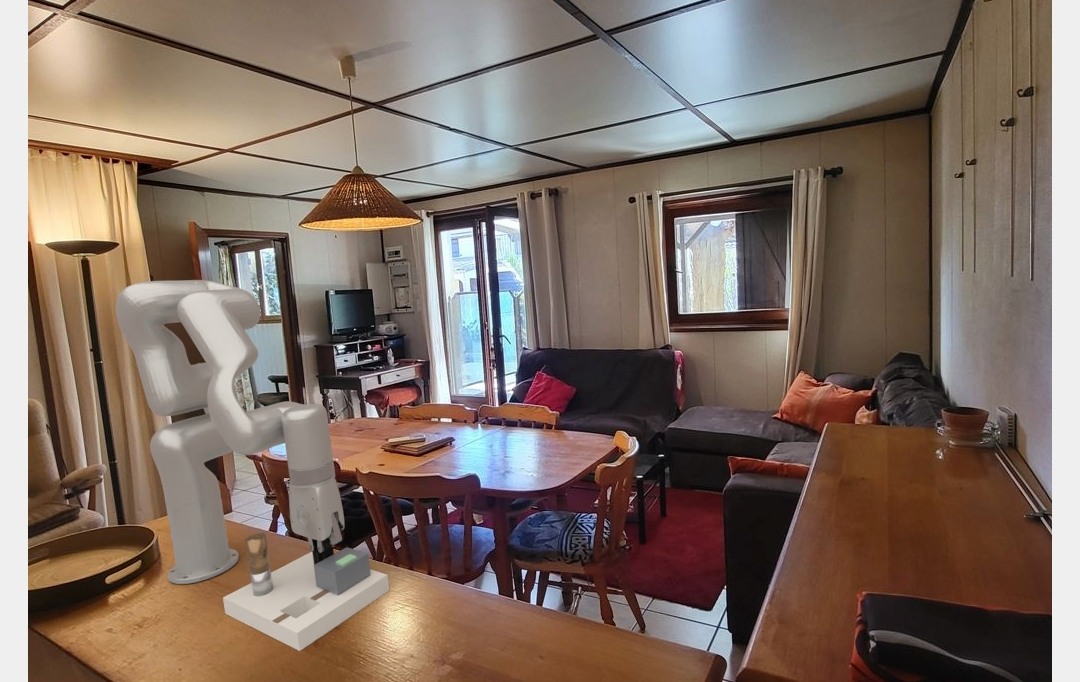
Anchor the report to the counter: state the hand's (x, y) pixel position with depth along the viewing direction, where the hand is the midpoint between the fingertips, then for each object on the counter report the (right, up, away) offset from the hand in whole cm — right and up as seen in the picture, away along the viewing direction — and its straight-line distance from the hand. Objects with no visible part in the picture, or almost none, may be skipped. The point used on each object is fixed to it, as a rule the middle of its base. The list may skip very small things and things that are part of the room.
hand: (325, 568), depth 99 cm
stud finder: (+4, -1, -3) cm, 5 cm away
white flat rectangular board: (-2, -5, -3) cm, 6 cm away
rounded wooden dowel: (-10, -2, -4) cm, 10 cm away
